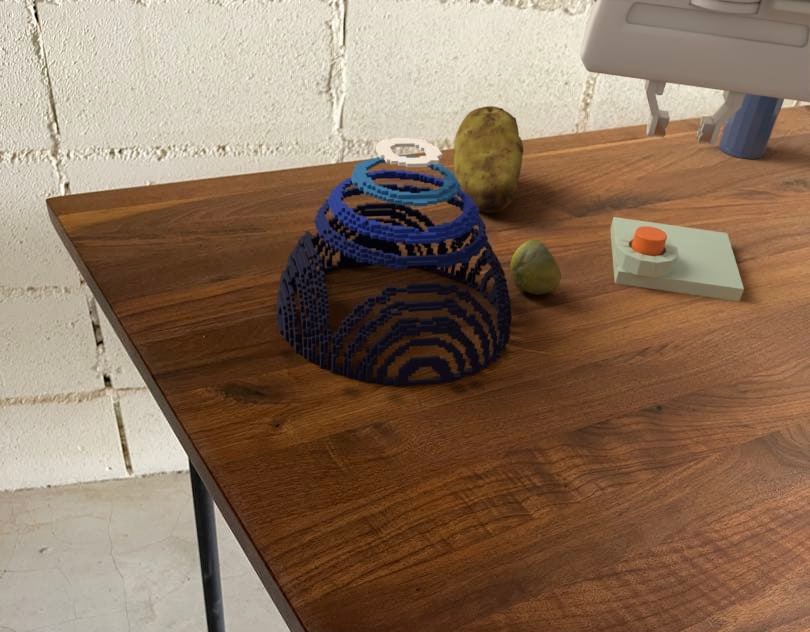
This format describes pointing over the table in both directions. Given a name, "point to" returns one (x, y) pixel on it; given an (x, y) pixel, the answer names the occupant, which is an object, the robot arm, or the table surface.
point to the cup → (750, 127)
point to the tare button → (649, 241)
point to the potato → (488, 158)
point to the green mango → (535, 268)
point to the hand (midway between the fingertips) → (679, 138)
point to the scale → (677, 261)
